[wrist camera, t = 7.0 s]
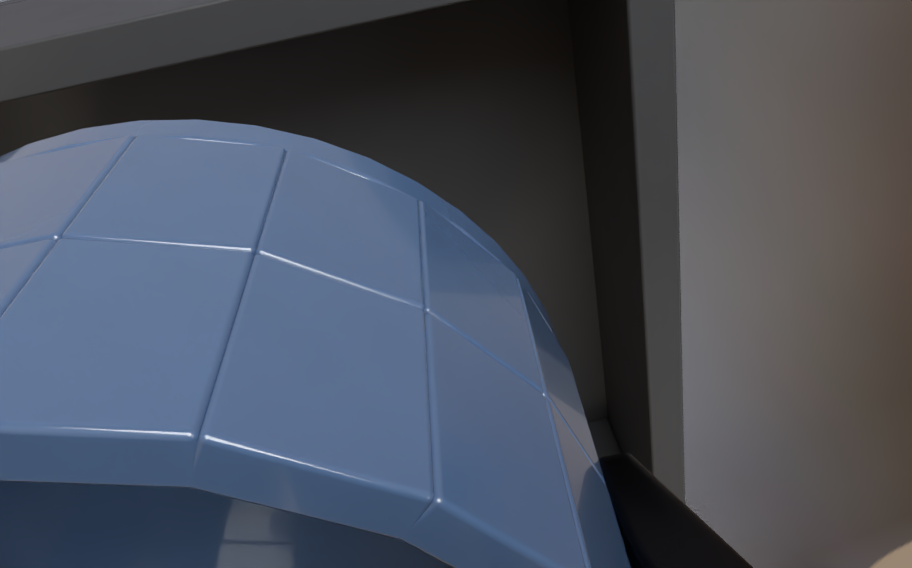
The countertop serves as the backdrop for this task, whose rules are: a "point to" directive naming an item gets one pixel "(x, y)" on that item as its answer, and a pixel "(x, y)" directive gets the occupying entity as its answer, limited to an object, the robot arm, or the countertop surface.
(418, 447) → the rice bowl
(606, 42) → the tote
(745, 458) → the countertop surface
